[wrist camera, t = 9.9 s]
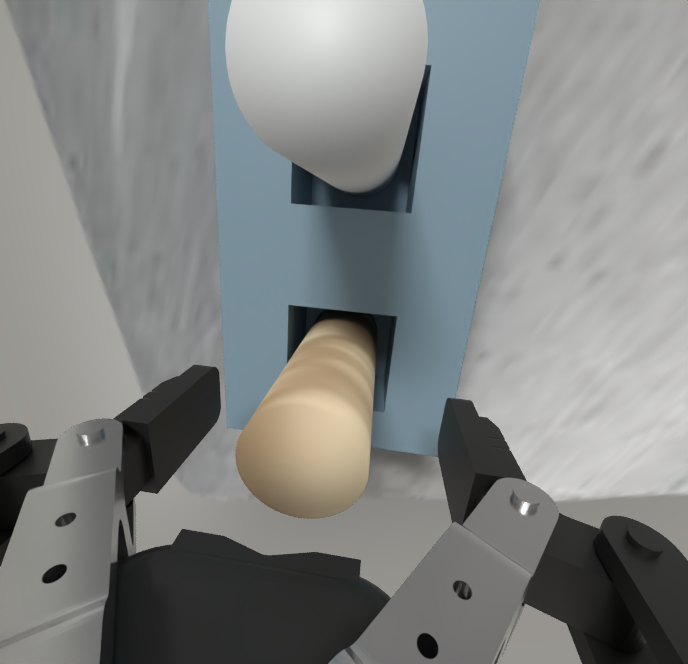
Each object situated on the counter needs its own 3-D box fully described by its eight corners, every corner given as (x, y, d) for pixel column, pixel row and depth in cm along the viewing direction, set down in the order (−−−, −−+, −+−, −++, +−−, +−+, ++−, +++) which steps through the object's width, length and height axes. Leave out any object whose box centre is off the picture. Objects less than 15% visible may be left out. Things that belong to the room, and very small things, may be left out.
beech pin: (380, 305, 19) (376, 416, 8) (374, 364, 20) (362, 527, 9) (316, 298, 19) (233, 397, 8) (313, 357, 20) (237, 507, 10)
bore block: (493, 59, 15) (801, -386, 4) (429, 404, 21) (480, 616, 10) (258, 48, 16) (-33, -338, 5) (260, 382, 22) (131, 555, 11)
